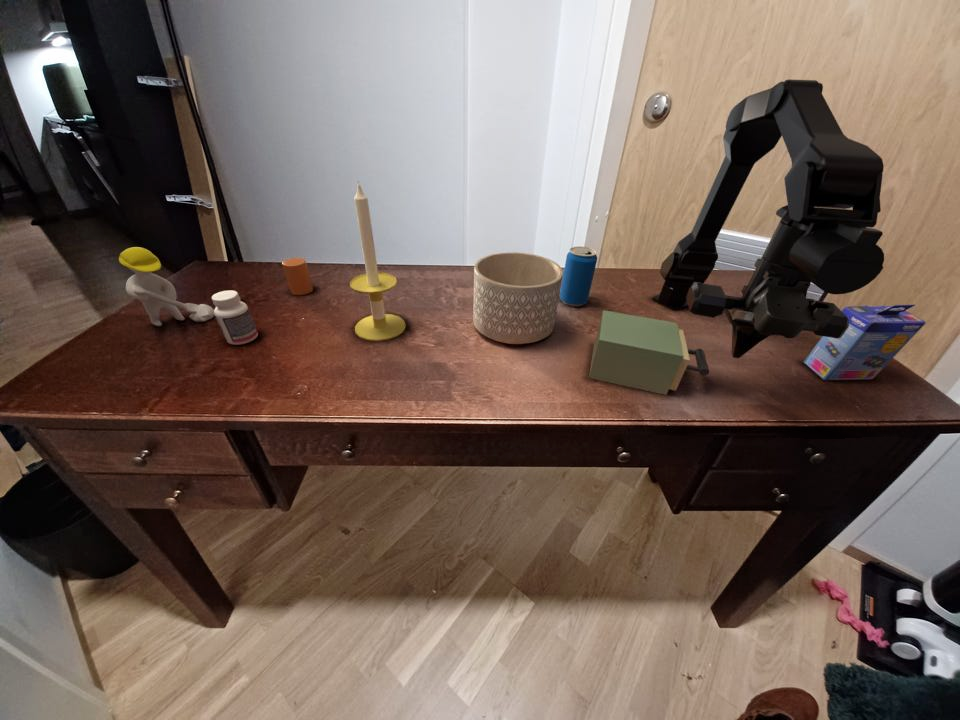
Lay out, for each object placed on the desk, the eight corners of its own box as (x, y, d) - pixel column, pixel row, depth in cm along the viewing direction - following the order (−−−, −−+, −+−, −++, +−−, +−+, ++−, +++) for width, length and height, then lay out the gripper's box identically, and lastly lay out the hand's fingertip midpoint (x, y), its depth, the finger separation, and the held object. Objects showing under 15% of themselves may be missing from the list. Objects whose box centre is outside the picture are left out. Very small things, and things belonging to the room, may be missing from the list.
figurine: (180, 337, 68) (138, 260, 59) (140, 330, 70) (93, 254, 61) (222, 312, 76) (190, 240, 67) (185, 306, 78) (149, 235, 69)
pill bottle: (265, 333, 70) (249, 291, 65) (242, 348, 66) (223, 304, 61) (243, 328, 72) (226, 286, 66) (220, 342, 68) (199, 298, 62)
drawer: (694, 363, 65) (708, 334, 61) (702, 396, 58) (718, 365, 54) (606, 346, 69) (614, 317, 65) (603, 375, 62) (612, 344, 58)
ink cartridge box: (825, 382, 63) (883, 308, 55) (800, 363, 68) (850, 292, 59) (876, 380, 64) (941, 307, 56) (848, 361, 69) (904, 291, 60)
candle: (413, 333, 72) (399, 184, 56) (362, 346, 68) (331, 189, 52) (396, 311, 79) (379, 173, 63) (349, 321, 75) (318, 176, 59)
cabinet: (662, 359, 67) (677, 322, 63) (666, 395, 59) (683, 356, 55) (593, 346, 70) (603, 309, 66) (588, 378, 62) (599, 339, 58)
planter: (487, 302, 83) (490, 247, 76) (559, 315, 79) (569, 259, 72) (460, 338, 71) (460, 277, 63) (543, 357, 67) (554, 294, 59)
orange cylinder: (311, 284, 88) (303, 256, 84) (314, 292, 85) (307, 263, 81) (289, 288, 86) (280, 259, 82) (292, 296, 83) (283, 267, 79)
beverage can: (587, 309, 82) (599, 257, 75) (558, 306, 83) (567, 254, 76) (586, 296, 87) (597, 247, 80) (559, 293, 88) (568, 244, 81)
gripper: (720, 272, 44) (675, 373, 54) (910, 299, 40) (825, 404, 49) (706, 244, 53) (669, 335, 62) (861, 263, 48) (796, 358, 57)
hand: (734, 356), depth 57 cm, fingers closed
